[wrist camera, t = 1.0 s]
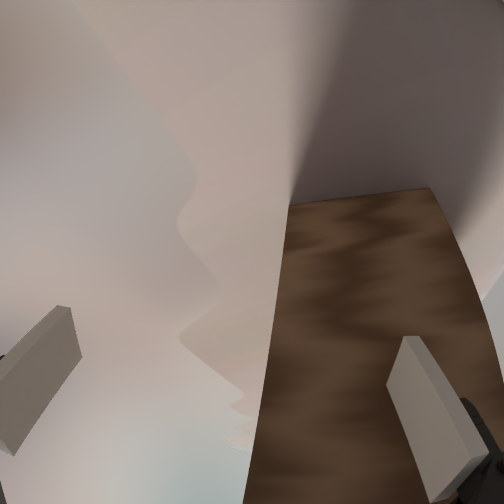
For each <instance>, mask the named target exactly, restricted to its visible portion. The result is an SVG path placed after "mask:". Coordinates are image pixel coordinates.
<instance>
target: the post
mask: <svg viewBox="0 0 504 504" xmlns="http://www.w3.org/2000/svg"><path fill="white" fill-rule="evenodd" d="M404 336H419V337H420V338H421V340H422V341H423V343H424V344H425V346H426V347H427V349H428V350H429V352H430V353H431V355H432V356H433V358H434V359H435V361H436V362H437V364H438V365H439V367H440V369H441V370H442V372H443V373H444V375H445V376H446V378H447V380H448V381H449V383H450V384H451V386H452V388H453V389H454V391H455V393H456V394H457V396H458V398H464V397H465V398H466V399H468V400H469V401H470V402H471V403H472V404H473V405H474V406H475V407H476V409H477V411H478V412H479V414H480V417H482V419H483V420H484V422H485V423H484V424H486V426H487V427H488V429H489V431H490V432H491V434H492V436H493V438H494V439H495V441H496V443H497V445H498V447H499V448H500V450H501V452H504V382H503V378H502V374H501V370H500V365H499V361H498V357H497V354H496V349H495V346H494V342H493V339H492V335H491V332H490V329H489V325H488V322H487V319H486V316H485V313H484V310H483V307H482V304H481V301H480V298H479V295H478V293H477V290H476V287H475V285H474V282H473V279H472V277H471V274H470V272H469V269H468V267H467V264H466V262H465V259H464V257H463V255H462V252H461V250H460V248H459V246H458V243H457V241H456V239H455V237H454V235H453V232H452V230H451V228H450V226H449V224H448V222H447V220H446V218H445V216H444V214H443V212H442V210H441V208H440V206H439V204H438V202H437V200H436V198H435V196H434V194H433V193H432V191H431V189H430V188H427V189H417V190H408V191H399V192H390V193H382V194H373V195H365V196H357V197H349V198H342V199H334V200H327V201H319V202H312V203H305V204H298V205H291V206H289V208H288V217H287V225H286V233H285V241H284V248H283V256H282V264H281V271H280V278H279V286H278V293H277V300H276V307H275V314H274V321H273V328H272V335H271V341H270V348H269V354H268V361H267V367H266V374H265V380H264V386H263V392H262V398H261V404H260V410H259V416H258V422H257V428H256V434H255V440H254V445H253V451H252V456H251V462H250V467H249V473H248V478H247V484H246V489H245V494H244V499H243V504H449V503H451V502H452V501H453V500H454V499H455V498H456V497H457V496H458V493H457V490H456V491H455V492H454V493H453V494H452V495H451V496H450V497H449V498H448V499H444V500H441V501H437V502H434V503H430V502H429V499H428V496H427V493H426V490H425V487H424V484H423V481H422V478H421V475H420V472H419V470H418V467H417V464H416V461H415V458H414V455H413V453H412V450H411V447H410V445H409V442H408V439H407V437H406V434H405V431H404V429H403V426H402V423H401V421H400V418H399V416H398V413H397V411H396V408H395V406H394V403H393V401H392V398H391V396H390V393H389V391H388V389H387V386H386V384H387V381H388V378H389V376H390V373H391V371H392V368H393V365H394V363H395V360H396V357H397V354H398V352H399V349H400V346H401V343H402V340H403V337H404Z"/></svg>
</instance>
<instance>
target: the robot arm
mask: <svg viewBox="0 0 504 504" xmlns="http://www.w3.org/2000/svg"><path fill="white" fill-rule="evenodd" d="M81 358H82V355H81V351H80V347H79V344H78V339H77V335H76V331H75V327H74V322H73V318H72V313H71V308H68V307H64V306H59V305H57V306H56V307H55V308H54V309H53V310H52V311H50V312H49V313H48V314H47V315H46V316H45V317H44V318H43V319H42V320H41V321H40V322H39V323H38V324H37V325H36V326H35V327H34V328H33V329H31V330H30V331H29V332H28V333H27V334H26V335H25V336H24V337H23V338H22V339H21V340H20V341H19V342H18V343H17V344H16V345H15V346H14V347H13V348H12V349H11V350H10V351H9V352H8V353H7V354H6V355H2V356H1V357H0V449H1V450H3V451H5V452H7V453H8V454H10V455H12V456H14V455H15V454H16V452H17V451H18V449H19V447H20V446H21V444H22V443H23V441H24V439H25V438H26V437H27V435H28V434H29V432H30V430H31V429H32V427H33V426H34V424H35V423H36V422H37V420H38V418H39V417H40V415H41V414H42V413H43V411H44V410H45V408H46V407H47V405H48V404H49V402H50V401H51V400H52V398H53V397H54V395H55V394H56V393H57V391H58V390H59V388H60V387H61V385H62V384H63V382H64V381H65V380H66V379H67V377H68V375H69V374H70V373H71V372H72V370H73V369H74V368H75V366H76V365H77V364H78V362H79V361H80V360H81ZM386 386H387V389H388V391H389V393H390V396H391V398H392V401H393V403H394V406H395V408H396V411H397V413H398V416H399V418H400V421H401V423H402V426H403V429H404V431H405V434H406V437H407V439H408V442H409V445H410V447H411V450H412V453H413V455H414V458H415V461H416V464H417V467H418V470H419V472H420V475H421V478H422V481H423V484H424V487H425V490H426V493H427V496H428V499H429V502H430V503H434V502H437V501H441V500H444V499H448V498H449V497H450V496H451V495H452V494H453V493H454V492H455V491H456V490H457V493H458V496H457V497H456V498H455V499H454V500H453V501H452V502H451V503H449V504H504V452H501V450H500V448H499V447H498V445H497V443H496V441H495V439H494V438H493V436H492V434H491V432H490V431H489V429H488V427H487V426H486V424H484V423H485V422H484V420H483V419H482V417H480V414H479V412H478V411H477V409H476V407H475V406H474V405H473V404H472V403H471V402H470V401H469V400H468V399H466V398H465V397H464V398H458V396H457V394H456V393H455V391H454V389H453V388H452V386H451V384H450V383H449V381H448V380H447V378H446V376H445V375H444V373H443V372H442V370H441V369H440V367H439V365H438V364H437V362H436V361H435V359H434V358H433V356H432V355H431V353H430V352H429V350H428V349H427V347H426V346H425V344H424V343H423V341H422V340H421V338H420V337H419V336H404V337H403V340H402V343H401V346H400V349H399V352H398V354H397V357H396V360H395V363H394V365H393V368H392V371H391V373H390V376H389V378H388V381H387V384H386ZM0 504H7V503H6V500H5V497H4V493H3V490H2V486H1V483H0Z"/></svg>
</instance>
